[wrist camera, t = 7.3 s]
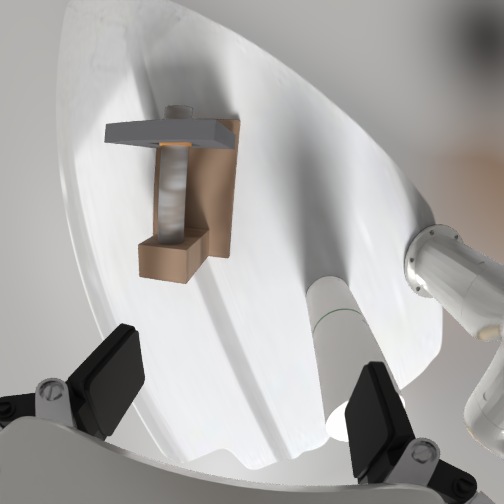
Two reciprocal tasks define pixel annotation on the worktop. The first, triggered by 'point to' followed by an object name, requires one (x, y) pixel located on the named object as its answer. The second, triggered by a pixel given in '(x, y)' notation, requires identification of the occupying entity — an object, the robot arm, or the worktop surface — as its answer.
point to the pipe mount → (189, 206)
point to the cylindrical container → (340, 348)
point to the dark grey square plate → (171, 133)
